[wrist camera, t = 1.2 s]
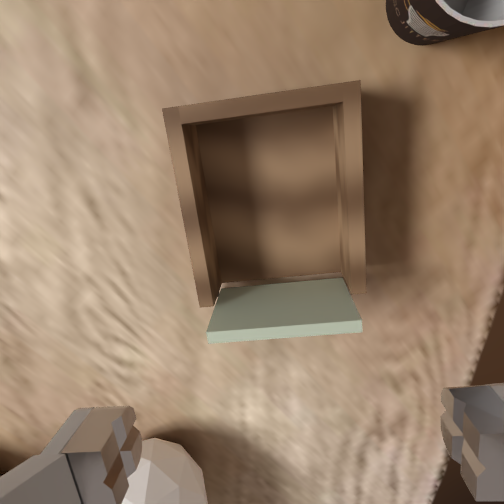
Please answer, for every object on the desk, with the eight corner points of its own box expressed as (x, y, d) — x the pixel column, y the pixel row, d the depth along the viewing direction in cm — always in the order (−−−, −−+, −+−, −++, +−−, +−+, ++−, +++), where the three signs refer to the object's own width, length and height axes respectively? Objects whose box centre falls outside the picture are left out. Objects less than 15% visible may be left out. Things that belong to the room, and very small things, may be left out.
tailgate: (221, 288, 35) (206, 332, 27) (342, 277, 34) (361, 320, 26) (223, 300, 35) (208, 347, 28) (343, 290, 34) (362, 335, 26)
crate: (182, 112, 31) (161, 108, 26) (344, 89, 30) (360, 80, 24) (213, 290, 37) (202, 319, 31) (352, 278, 35) (366, 306, 30)
